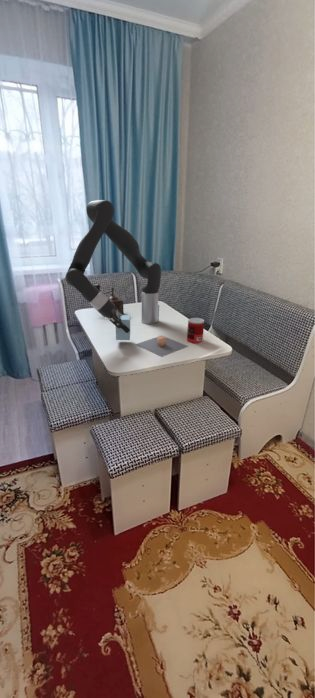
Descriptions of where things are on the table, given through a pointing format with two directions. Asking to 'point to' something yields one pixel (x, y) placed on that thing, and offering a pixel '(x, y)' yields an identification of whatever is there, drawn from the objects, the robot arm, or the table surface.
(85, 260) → the robot arm
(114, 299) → the pepper mill
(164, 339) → the peach rounded cylinder
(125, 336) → the light blue tall box
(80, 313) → the table surface
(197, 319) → the canned food
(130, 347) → the table surface
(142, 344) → the mat
